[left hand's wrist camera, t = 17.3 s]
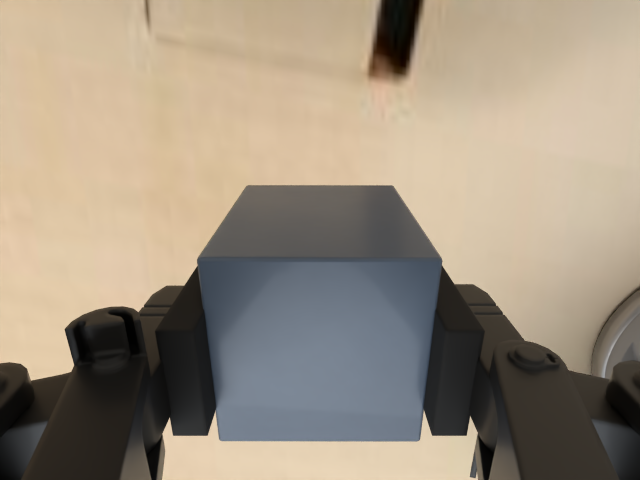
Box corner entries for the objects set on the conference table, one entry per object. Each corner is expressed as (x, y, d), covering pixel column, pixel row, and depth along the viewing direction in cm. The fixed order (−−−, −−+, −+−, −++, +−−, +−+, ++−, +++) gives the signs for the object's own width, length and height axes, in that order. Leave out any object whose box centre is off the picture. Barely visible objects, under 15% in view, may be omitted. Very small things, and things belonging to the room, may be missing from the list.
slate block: (393, 185, 14) (444, 258, 8) (384, 312, 16) (420, 443, 10) (246, 184, 14) (195, 258, 8) (254, 312, 16) (218, 442, 10)
